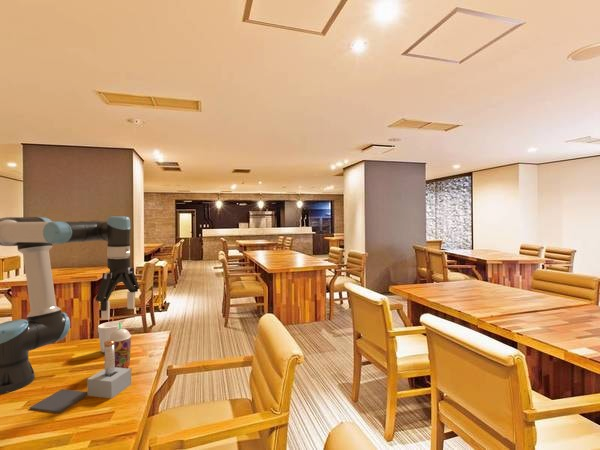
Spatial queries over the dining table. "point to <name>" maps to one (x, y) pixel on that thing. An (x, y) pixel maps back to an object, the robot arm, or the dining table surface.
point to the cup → (106, 332)
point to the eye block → (109, 383)
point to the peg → (109, 358)
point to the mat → (59, 401)
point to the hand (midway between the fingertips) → (118, 313)
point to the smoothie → (121, 347)
